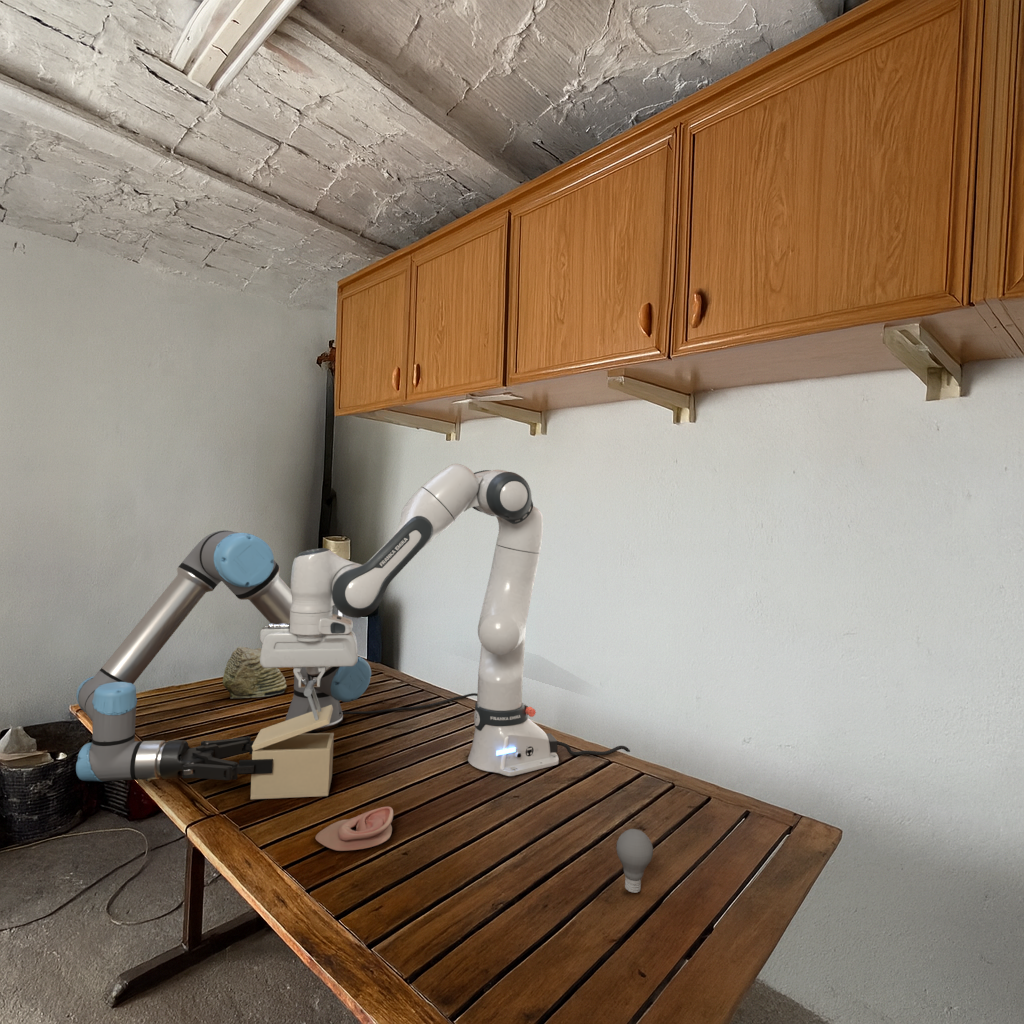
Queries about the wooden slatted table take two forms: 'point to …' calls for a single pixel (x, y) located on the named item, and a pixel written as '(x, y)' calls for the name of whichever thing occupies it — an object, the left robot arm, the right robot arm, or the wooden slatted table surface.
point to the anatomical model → (358, 831)
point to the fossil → (251, 675)
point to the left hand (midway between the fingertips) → (276, 756)
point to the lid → (295, 723)
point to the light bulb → (634, 857)
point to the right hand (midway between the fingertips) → (309, 686)
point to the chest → (295, 767)
